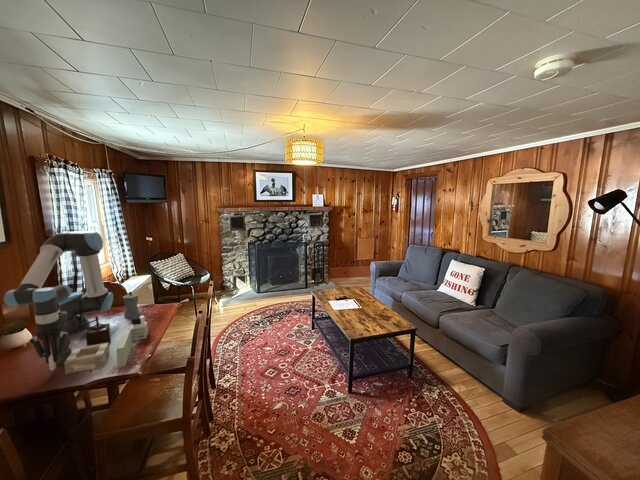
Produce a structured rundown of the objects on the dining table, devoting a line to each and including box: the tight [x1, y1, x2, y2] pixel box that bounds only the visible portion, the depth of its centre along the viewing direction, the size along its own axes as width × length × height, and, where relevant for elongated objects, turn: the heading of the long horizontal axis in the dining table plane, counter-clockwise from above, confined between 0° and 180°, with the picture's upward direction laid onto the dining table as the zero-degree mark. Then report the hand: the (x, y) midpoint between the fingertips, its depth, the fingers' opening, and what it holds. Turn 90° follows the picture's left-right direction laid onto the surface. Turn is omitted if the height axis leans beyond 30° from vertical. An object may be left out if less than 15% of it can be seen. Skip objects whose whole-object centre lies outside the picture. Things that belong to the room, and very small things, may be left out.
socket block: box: [63, 342, 110, 375], centre depth 134 cm, size 14×14×6 cm
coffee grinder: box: [74, 315, 112, 346], centre depth 151 cm, size 16×11×18 cm
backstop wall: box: [115, 328, 133, 369], centre depth 141 cm, size 22×3×10 cm, turn 28°
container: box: [129, 314, 149, 342], centre depth 161 cm, size 8×8×13 cm
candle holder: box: [56, 311, 72, 365], centre depth 135 cm, size 6×6×25 cm
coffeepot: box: [122, 291, 141, 319], centre depth 192 cm, size 15×9×18 cm, turn 44°
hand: (53, 368), depth 127 cm, fingers closed
